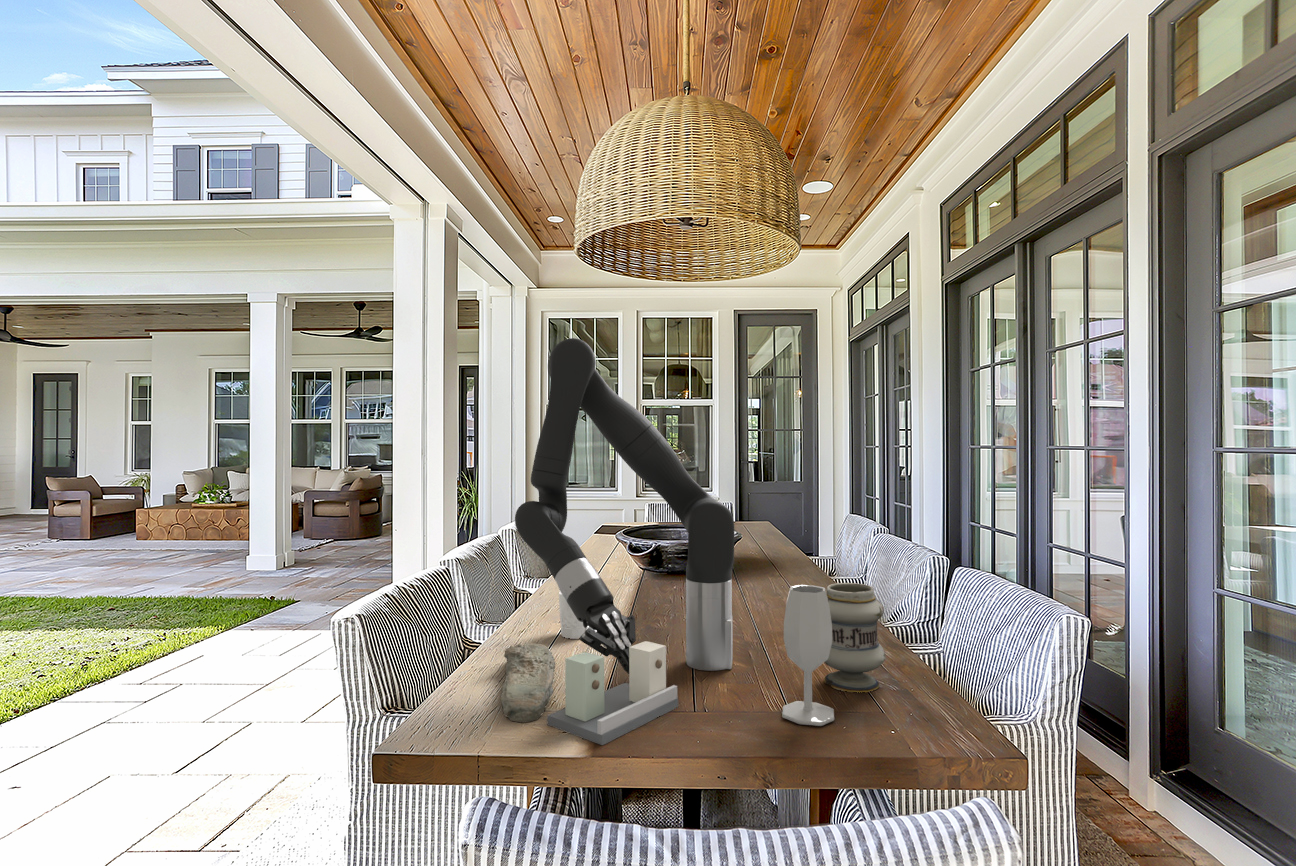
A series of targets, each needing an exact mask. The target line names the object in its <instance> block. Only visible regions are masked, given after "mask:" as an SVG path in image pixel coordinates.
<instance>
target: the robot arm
mask: <svg viewBox="0 0 1296 866" xmlns="http://www.w3.org/2000/svg"><path fill="white" fill-rule="evenodd" d="M596 365H597V364H596V355H595V353H594V350H593V349H592V347H591V346H590V345H589V344H588V343H587V342H586V341H584V340H583V339H580V338H576V337H575V338H574V337H571V338H566V339H564V340H561V341H559V342H558V343H557V344H556V345H555V346H554V347H553V348H552V350H551V352H550V354H549V357H548V362H547V372H548V375H549V379H550V385H549V396H548V402H547V407H546V408H547V409H546V412H545V417H544V420H543V424H542V427H541V431H540V434H539V438H538V440H537V441H538V442H537V445H536V450H535V455H534V458H533V463H532V470H531V475H530V483H531V485H532V486H533V487H534V488H535V489H536V490H537V491H538V501H537V500H536V501H535V500H529V501H525V502H523V503H521V504H520V506H519V507H518V508H517V509H516V511H515V517H514V524H515V528H516V530H517V532H518V534H519V536H520V538H522V540H523V541H524V543H526V544H527V546H528V547H529V548H530V549H531V550H532V551H533V553H535V555H537V557H539V558H540V559H541V560H542V561H543V562H544V563H545V566H546V568H547V569H548V571H549V572H550V574H551V576H552V577H553V579H554V581H555V582H556V584H557V587H558V590H559V592H561V593H562V595H563V597H564V598H565V600H566V601H567V603H568V605H569V606H570V608H571V610H572V611H573V613H574V615H575V616H576V618H577V619H578V621H580V622H583V626H584V628H585V630H584V633H583V634H582V635H581V636H580V639H579V641H581V642H582V643H583V644H585V645H586V646H588V647H590V648H592V649H593V650H594V651H597V652H598V653H600V654H601V655H603V657H609V656H612V657H614V658H616V659H617V661H618V662H619V664H620V666H621V667H622V669H623V670H624V671H625V672H626V673H627V674H628V675H629V647H631V646H633V644H634V643H635V642H636V641H637V637H636V633H637V632H636V618H635V616H634V615H632V614H630V615H629V616H625V615H623V614H622V612H621V610H620V609H619V608H618V607H616V606H615V605H614V604H615V603H614V595H613V593H612V592H611V590H610V589H609V588H608V586H607V584H606V583H605V582H604V580H603V578H602V577H601V575H600V574H599V573H598V571H597V569H596V568H595V566H593V564H592V563H591V562H590V561H589V559H588V558H587V556H586V555H585V553H584V552H583V550H582V549H581V547H580V545H579V544H578V543H577V542H576V540H574V539H573V538H572V537H570V536H568V535H566V534H564V533H563V531H564V529H565V528H566V527H565V526H566V523H567V519H568V518H567V517H568V498H567V497H568V494H567V482H568V476H569V473H570V468H571V461H572V457H573V449H574V443H575V435H576V430H577V422H578V418H579V413H580V411H581V410H582V411H584V412H585V414H586V416H588V418H590V420H591V421H592V423H594V425H595V426H596V428H597V429H598V430H599V432H600V433H601V434H602V435H603V437H604V438H605V440H606V441H607V442H608V443H609V445H611V447H612V449H614V450H615V452H616V454H617V455H618V456H619V457H620V458H621V459H622V460H623V461H624V462H625V463H626V464H627V465H628V467H629V469H631V470H632V471H634V473H635V474H636V475H637V476H638V477H639V478H641V479H642V481H644V482H645V483H646V484H647V485H648V487H650V488H651V489H653V491H655V492H656V493H657V494H658V495H659V496H660V497H661V498H662V499H663V500H664V501H665V502H666V503H667V504H668V506H669V507H670V509H671V511H673V513H674V514H675V516H677V519H678V520H679V521H680V523H681V524H682V526H683V527H684V529H685V531H686V532H687V536H688V537H687V550H688V551H687V563H686V565H685V656H686V657H685V660H686V661H685V663H686V665H687V667H689V668H692V669H695V670H699V671H710V672H711V671H712V672H713V671H722V670H723V671H724V670H731V669H732V667H733V614H732V613H733V610H732V609H733V607H732V606H733V601H732V600H733V596H732V595H733V593H732V592H733V589H732V587H733V586H732V585H733V582H732V581H733V580H732V578H733V577H732V576H733V574H732V573H733V568H734V563H735V521H734V517H733V513H732V512H731V510H730V509H729V508H728V507H727V506H726V505H725V504H723V503H722V502H720V501H719V500H716V499H715V498H714V497H713V496H711V494H709V493H708V492H707V491H706V490H705V489H704V488H703V487H702V486H700V484H698V483H697V482H696V481H695V480H694V479H693V478H692V476H691V475H690V474H689V472H688V471H687V470H686V468H685V467H684V465H683V463H682V462H681V460H680V458H679V457H678V455H677V453H676V452H675V450H674V449H673V447H672V446H671V445H670V443H669V442H668V440H667V439H666V438H665V437H664V435H662V434H661V432H660V431H659V430H658V429H657V428H656V426H655V425H654V424H653V423H652V422H651V421H650V420H649V419H648V418H647V417H646V416H645V415H644V414H643V413H641V411H639V410H638V409H637V408H636V407H634V406H633V405H631V404H630V403H629V402H628V401H626V400H624V398H622V397H621V396H620V395H618V394H617V393H616V392H615V391H614V390H613V389H612V388H611V387H610V386H609V385H608V383H607V382H606V381H605V380H604V378H603V377H602V376H601V374H600V373H599V372H598V370H597V369H596Z"/></svg>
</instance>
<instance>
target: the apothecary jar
mask: <svg viewBox="0 0 1296 866" xmlns="http://www.w3.org/2000/svg"><path fill="white" fill-rule="evenodd" d="M826 593H827V597H828V600H829V606H830V613H831V620H832V645H831V649H830V653H829V657H828V659H827V660H826V661H825V662H824V663H823V664H826V665H827V666H828V667H830V668H831V669H834V670H836V671H833V672H829V673H827V674H826V675H825V676H824V679H823V681H824V684H825V685H828V686H830V687H831V688H832V689H834V690H837V691H840V690H841V692H845V691H847V692H846V693H853V692H857V693H856V694H863V693H862V692H865V693H870V692H869V691H871V692H873V690H874V691H876V690H878V689H879V688H880V682H879V681H878V679H876V678H875V677H873V676H871V675H869V674H867V672H871V671H874V670H876V669H878V668H880V666H882V665H883V664H884V662H885V660H886V658H887V657H886V651H885V649H884V647H883V646H882V645H881V644H880V643H879V636H878V635H879V634H878V620H880V619H881V618H882V617H883V615H884V613H885V610H884V606H883V605H884V604H882V602H881V601H880V600H879V599H877V598H876V595H875V591H874V588H873V586H871V585H867V584H865V583H858V582H857V583H855V582H838V583H832V584H829V585H828V586H827V587H826ZM858 692H859V693H858ZM860 692H861V693H860Z"/></svg>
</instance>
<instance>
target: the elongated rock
mask: <svg viewBox="0 0 1296 866" xmlns="http://www.w3.org/2000/svg"><path fill="white" fill-rule="evenodd" d="M503 657H504V658H505V659H506V662H505V670H506V672H505V673H506V676H505V680H504V683H503V685H502V687H501V696H500V701H501V706H502V710H503V716H504V717H507V718H508V719H509V720H510V721H512V722H517V723H518V722H519V723H528V722H529V723H531V722H533V721H537V720H539V719H540V718H541V717H542V715H543V714H544V713H545V710H546V707H547V706H548V704H549V703H550V698H551V697H552V695H553V694H554V688H553V685H554V678H555V677H554V676H555V674H554V673H555V671H556V670H555V668H556V661H555V659H556V658H554V655H553V652H552V651H551V650H550V649H549V647H547V646H546V645H545V644H540V643H525V644H520V643H518V644H515V645H510V646H509V647H507V648H506V649H505V650H504V655H503Z"/></svg>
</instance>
